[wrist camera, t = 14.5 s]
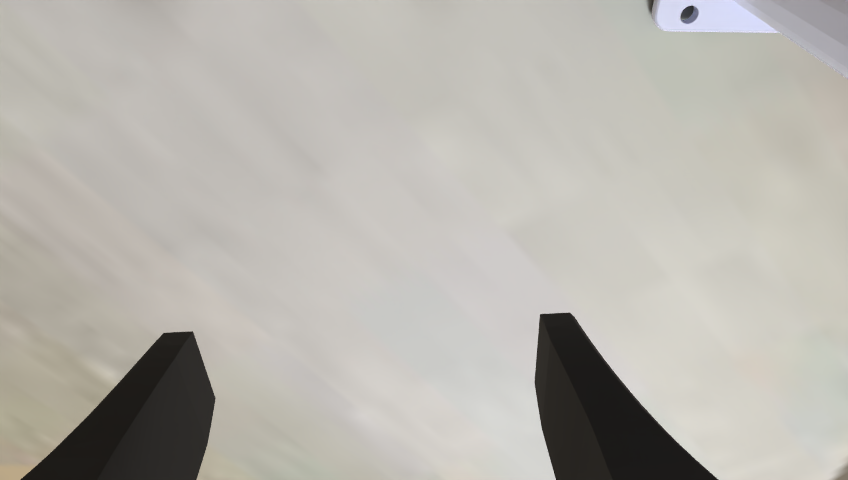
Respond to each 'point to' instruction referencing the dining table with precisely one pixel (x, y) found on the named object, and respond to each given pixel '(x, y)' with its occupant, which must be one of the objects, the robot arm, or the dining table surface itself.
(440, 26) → the dining table surface
